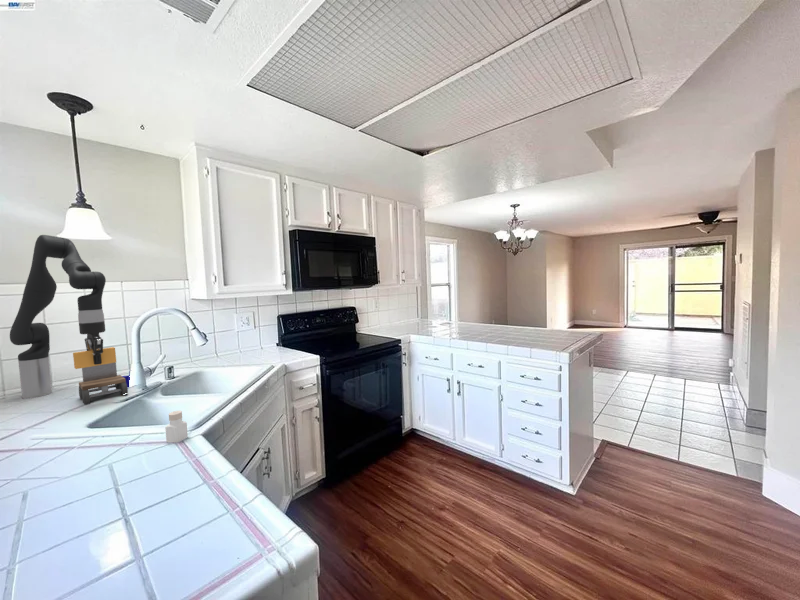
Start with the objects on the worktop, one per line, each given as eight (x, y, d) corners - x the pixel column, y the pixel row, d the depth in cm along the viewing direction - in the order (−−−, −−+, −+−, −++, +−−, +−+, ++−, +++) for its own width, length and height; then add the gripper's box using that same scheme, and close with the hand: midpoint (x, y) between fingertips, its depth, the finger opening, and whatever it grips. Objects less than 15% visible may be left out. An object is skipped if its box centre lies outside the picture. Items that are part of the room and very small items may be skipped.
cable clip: (132, 388, 155) (131, 375, 154) (121, 389, 153) (120, 377, 153) (142, 381, 166) (141, 369, 165) (131, 382, 164) (130, 370, 164)
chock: (74, 367, 128) (72, 352, 128) (114, 361, 137) (113, 347, 137) (75, 369, 125) (74, 353, 125) (116, 362, 135) (115, 347, 134)
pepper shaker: (177, 448, 93) (175, 415, 93) (165, 447, 94) (163, 415, 94) (189, 441, 97) (186, 410, 97) (177, 440, 98) (175, 409, 98)
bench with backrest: (79, 398, 141) (76, 365, 141) (120, 390, 152) (117, 359, 151) (85, 406, 131) (81, 370, 131) (128, 396, 142) (125, 363, 141)
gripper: (109, 320, 130) (114, 363, 131) (98, 320, 138) (102, 360, 138) (84, 322, 124) (88, 367, 124) (73, 322, 131) (78, 364, 132)
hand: (96, 363), depth 131 cm, fingers closed on chock, 4 cm apart
